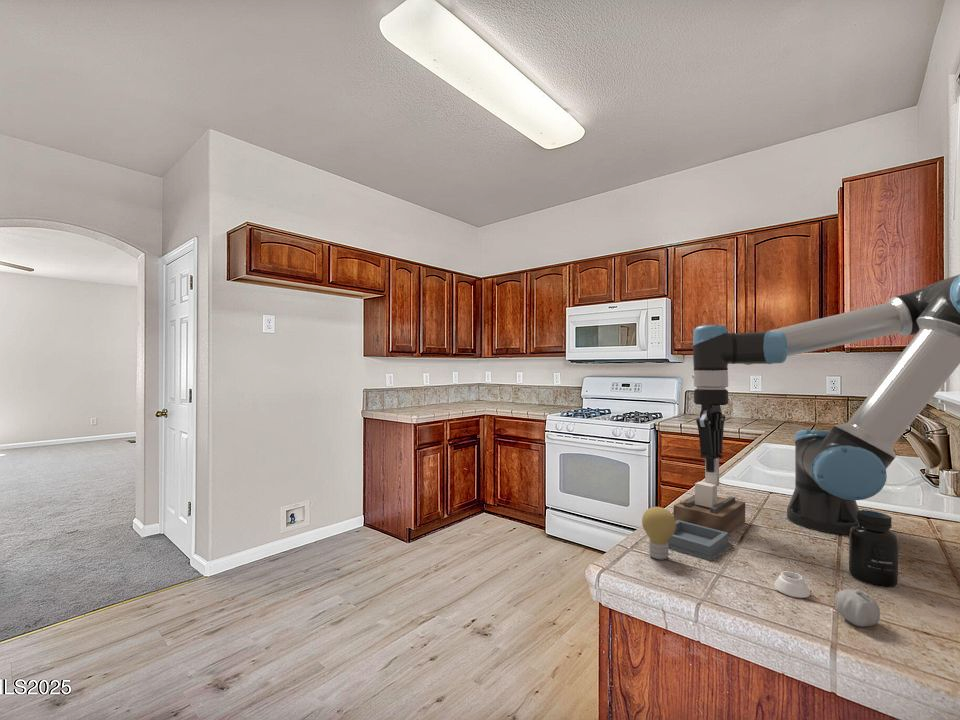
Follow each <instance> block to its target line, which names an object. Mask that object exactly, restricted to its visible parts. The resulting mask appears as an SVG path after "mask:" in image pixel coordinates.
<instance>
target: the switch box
mask: <svg viewBox="0 0 960 720" xmlns="http://www.w3.org/2000/svg"><path fill="white" fill-rule="evenodd" d="M673 516H674V518H675V521H676V520H680V521H684V522H688V523H692V524H696V525H700V526H704V527H708V528H712V529H716V530H719V531H723V532H727V533H729V535H731V534H732V533H733V532H734V531H735V530H737V529H738V528H739V527H741V526H742V525H744V524H745V523H746V502H745V501H740V500H736V497H735V496H732V495H731V496H729V497H722V496H717V505H715V506H713V507H711V508H710V507H705V506H701V505H696V504H695V494H693V495H692V496H690V497H688V498H685V499H684V500H683V499H682V500H679V502H678V503H675V504H673Z"/></svg>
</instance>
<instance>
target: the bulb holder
mask: <svg viewBox="0 0 960 720" xmlns="http://www.w3.org/2000/svg"><path fill="white" fill-rule="evenodd" d="M675 522H676V529H675V532H674V534H673V535H672V536H671V538H670V539H669V540H668V541H667V542H668V543H669V547H668V548H669V550H670V549H671V550H674V551H677V552H679V553H683V554H687V555H690V554H691V555H690V556H693V555H694V557H696V556H697V557H696V558H699V557H700V559H703V560H707V561H710V562H713V560H716V558H717V557H718V556H720V555H722V554H723V553H724V552H725V551H726V550H728V549H729V548H730V547H731V546H732V545H733V542H732V541H730V540H729V539H730V538H729V537H730V536H729V535H730V534H729V533H727V532H723V531H719V530H716V529H712V528H708V527H704V526H700V525H696V524H692V523H688V522H684V521H680V520H676V521H675Z"/></svg>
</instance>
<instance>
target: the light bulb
mask: <svg viewBox="0 0 960 720" xmlns="http://www.w3.org/2000/svg"><path fill="white" fill-rule="evenodd" d="M641 524H642V528H643V530H644V532H645V534H646V535H647V536H648V538H649V539H648V554H649V556H650V557H652V558H654V559H655V560H661V561H662V560H666V559H667V558H668V557H669V556H670V554H669V550H670V548H668V547H669V543H668V542H667V541H668V540H669V539H670V538H671V536H672V535H673V534H674V532H675V529H676V522H675V518H674V514H672V512H671V511H669V510H668V509H667V508H664V507H660V506H653V507H650V508H647V509H645V511H644V512H643V515H642V518H641Z"/></svg>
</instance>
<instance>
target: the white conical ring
mask: <svg viewBox="0 0 960 720" xmlns="http://www.w3.org/2000/svg"><path fill="white" fill-rule="evenodd" d="M773 586H774V588H775V590H777V591H778V592H780V593H782V594H784V595H785V596H789V597H793V598H797V599H798V598H799V599H802V598H803V599H804V598H808V597H810V594H811V591H810V589H809V587H808V586H807V583H806V582H805V580H804V578H803V576H802V575H801V574H799V573H796V572H793V571H786V570H785V571H782V572H780V575H778V577H777V578H776V580H775V582H774V583H773Z"/></svg>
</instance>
